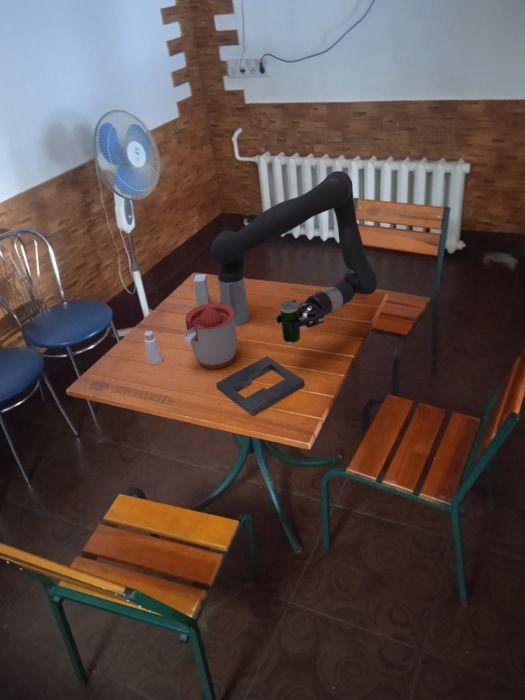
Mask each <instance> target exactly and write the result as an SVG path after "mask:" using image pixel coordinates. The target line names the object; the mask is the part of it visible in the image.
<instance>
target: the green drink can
mask: <svg viewBox="0 0 525 700" xmlns="http://www.w3.org/2000/svg"><path fill="white" fill-rule="evenodd" d="M280 314H281V332H282V340H283V341H284V342H285V343H286V344H290V345H291V344H296V343H298V342H299V341H300V339H301V327H299V328H297V329H294V330H290V327H289V324H290V323H292V322H294V321H296V320H297V319H300V318H299V308H298V305H297V301H296V302H294V301H293V300H287V301H283V302H282V303H281V304H280Z"/></svg>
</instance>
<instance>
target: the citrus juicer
mask: <svg viewBox="0 0 525 700" xmlns="http://www.w3.org/2000/svg"><path fill="white" fill-rule="evenodd" d="M234 314H235V313H234V310H233V309H232V308H231V307H230V306H228V305H225V304H221V303H217V302H216V303H215V302H213V303H211V302H210V304H205V305H201V306H198V305H197V306H196V307H194V308H192V309H191V310H189V312H188V313H187V314H186V315H185V318H184V319H185V321H184V322H185V327H186V332H185V333H184V337H183V338H184V341H186V342H188V343H190V345H191V350H192V351H193V354H194V356H195V357H196V360H197V361H198V363H199V364H200V365H201V366H203V367H204V368H205V369H206V368H207V369H210V370H211V369H212V370H216V369H221V368H222V369H223V368H224V367H227V366H228V365H229V366H230V364H232V362H233V361H234V359H235V357H236V354H237V347H238V334H237V328H236V326H237V325H235V319H234Z"/></svg>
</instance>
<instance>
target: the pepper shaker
mask: <svg viewBox="0 0 525 700" xmlns="http://www.w3.org/2000/svg"><path fill="white" fill-rule="evenodd" d="M143 335H144V337H145V339H144V344H145V345H144V346H145V352H146V353H145V354H146V361H147V363H148V364H149V365H152V366H153V365H158V364H161V362H162V361H164V358H163V356H162V355H163V354H162V352H161V349H160V347H159V344H158V342H157V339H156V337H155V336H154V332H153V331H152V330H147V331H145V332H144V334H143Z"/></svg>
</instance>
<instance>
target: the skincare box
mask: <svg viewBox="0 0 525 700" xmlns="http://www.w3.org/2000/svg"><path fill="white" fill-rule="evenodd" d="M193 279H194V280H193V287H194V292H195V293H194V294H195V297H196V303H197V304H196V305H197V307H198V306H201V305H205V304H210V303H211V299H210V297H211V296H210V291H209V284H208V279H207V274H206V273H202V274H195V276H194V278H193Z"/></svg>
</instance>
